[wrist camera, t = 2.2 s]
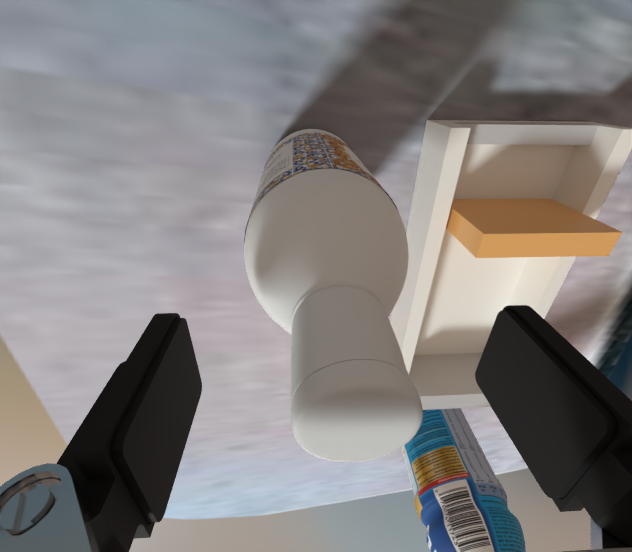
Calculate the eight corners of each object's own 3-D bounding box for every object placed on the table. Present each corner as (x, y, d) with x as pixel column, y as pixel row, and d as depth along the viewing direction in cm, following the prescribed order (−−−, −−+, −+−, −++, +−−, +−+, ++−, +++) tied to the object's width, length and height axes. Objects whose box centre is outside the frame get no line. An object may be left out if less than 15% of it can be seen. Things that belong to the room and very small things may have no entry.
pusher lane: (426, 119, 22) (466, 132, 17) (589, 121, 23) (674, 134, 18) (382, 362, 35) (398, 411, 30) (488, 358, 36) (520, 405, 30)
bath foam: (372, 192, 25) (549, 447, 8) (297, 236, 26) (307, 527, 9) (328, 106, 21) (469, 220, 4) (245, 162, 23) (111, 407, 6)
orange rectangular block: (441, 199, 24) (483, 234, 19) (551, 198, 24) (622, 232, 19) (436, 219, 25) (476, 258, 19) (542, 218, 25) (608, 255, 20)
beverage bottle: (468, 386, 38) (608, 634, 21) (438, 428, 42) (536, 662, 25) (402, 379, 37) (497, 639, 20) (379, 423, 41) (440, 668, 24)
